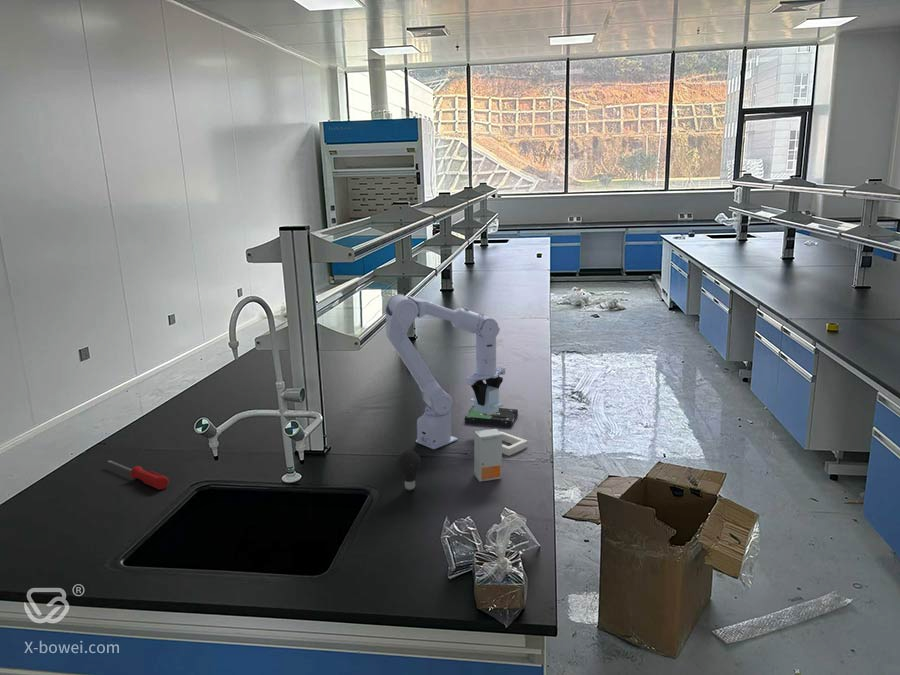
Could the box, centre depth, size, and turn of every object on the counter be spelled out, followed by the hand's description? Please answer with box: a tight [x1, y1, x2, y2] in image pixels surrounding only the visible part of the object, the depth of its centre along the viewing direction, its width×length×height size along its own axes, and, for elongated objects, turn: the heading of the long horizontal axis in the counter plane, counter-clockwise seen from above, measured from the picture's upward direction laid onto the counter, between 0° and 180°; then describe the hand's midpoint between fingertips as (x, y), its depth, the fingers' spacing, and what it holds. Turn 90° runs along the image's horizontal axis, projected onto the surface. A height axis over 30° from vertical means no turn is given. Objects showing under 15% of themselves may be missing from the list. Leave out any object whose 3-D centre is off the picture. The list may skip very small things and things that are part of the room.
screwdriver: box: [107, 460, 170, 491], centre depth 163 cm, size 4×25×4 cm, turn 56°
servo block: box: [469, 386, 504, 415], centre depth 185 cm, size 4×10×8 cm, turn 44°
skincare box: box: [473, 428, 503, 483], centre depth 158 cm, size 6×4×12 cm
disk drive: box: [464, 405, 519, 428], centre depth 198 cm, size 10×3×15 cm
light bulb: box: [397, 449, 422, 491], centre depth 153 cm, size 6×6×10 cm
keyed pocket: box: [499, 431, 528, 457], centre depth 177 cm, size 8×10×2 cm
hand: (486, 402), depth 185 cm, fingers closed on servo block, 4 cm apart
